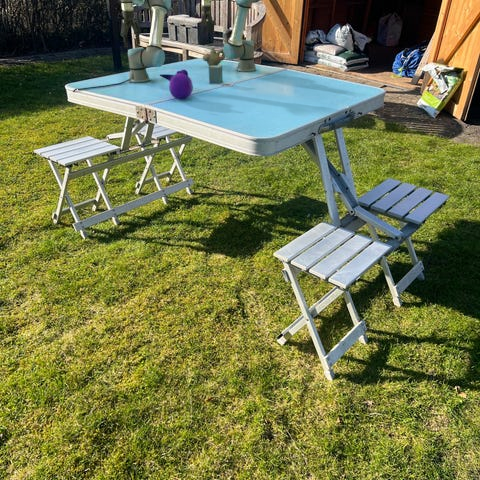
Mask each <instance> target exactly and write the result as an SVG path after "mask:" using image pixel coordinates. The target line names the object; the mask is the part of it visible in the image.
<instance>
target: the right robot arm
mask: <svg viewBox="0 0 480 480" xmlns="http://www.w3.org/2000/svg"><path fill="white" fill-rule="evenodd" d="M234 1H235V5H236V12H235V16H234V21H233V26H232V30H231V34H230V37H229V38H228V39H227V42H226V43H224V45H223V47H222V49H223V52H224V55H225V59H227V60H234V59H239V61H238V65H237V67H236V70H237V72H241V73H250V72H255V71H256V70H257V68H256V63H255V61H254V58H255V57H254V54H255V52H254V49H255V48H254V47H255V45H254V40H248V39H243V37H244V32H245V28H246V23H247V18H248V14H249V11H250V10H251V9H252V6H253V4H257V3H259V2H261V0H234ZM200 3H201V12H202V13H201V20H200V27H201V30H202V31H201V32H202V37H206V36H207V28H206V23H208V35H214V34H213V26H214V20H213V15H212V0H200Z"/></svg>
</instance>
